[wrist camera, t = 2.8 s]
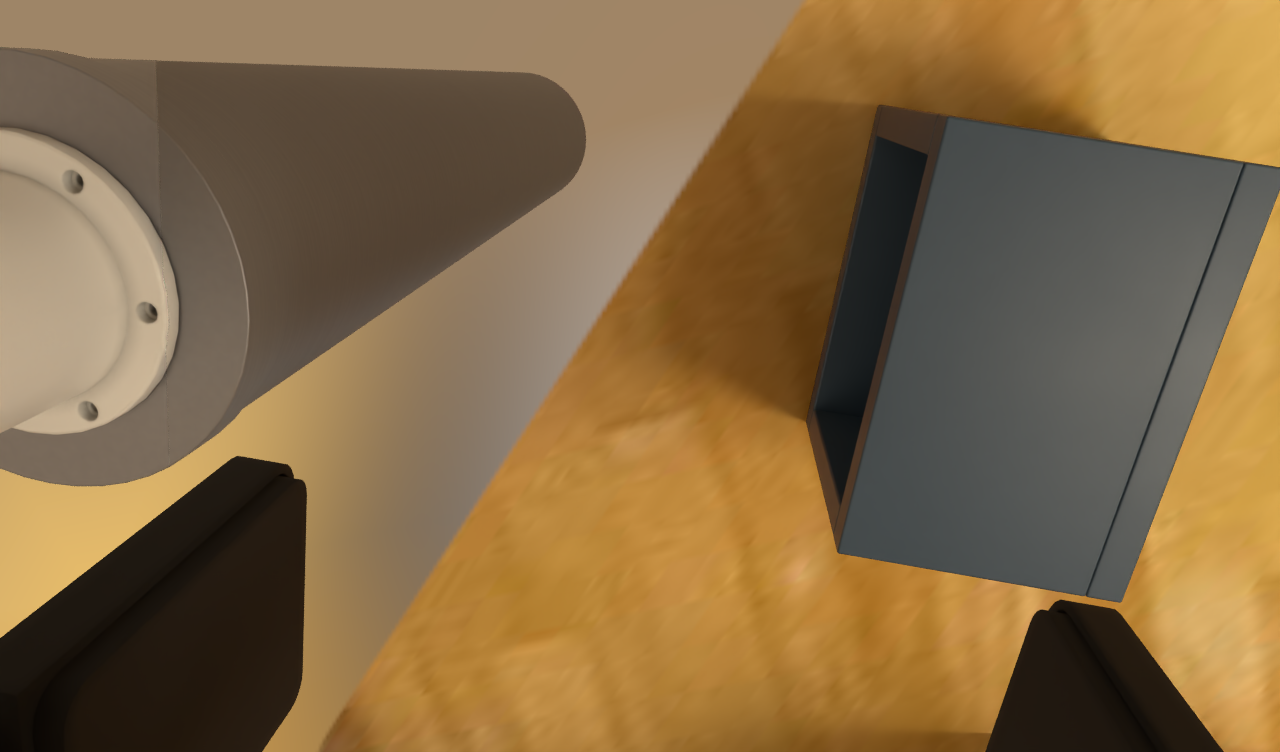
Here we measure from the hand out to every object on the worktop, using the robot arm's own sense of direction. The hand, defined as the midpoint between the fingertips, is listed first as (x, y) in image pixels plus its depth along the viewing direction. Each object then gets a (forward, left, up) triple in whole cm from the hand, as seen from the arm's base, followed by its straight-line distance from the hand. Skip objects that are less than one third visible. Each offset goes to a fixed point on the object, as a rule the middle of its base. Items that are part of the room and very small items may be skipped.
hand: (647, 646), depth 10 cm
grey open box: (+9, 0, -24) cm, 26 cm away
